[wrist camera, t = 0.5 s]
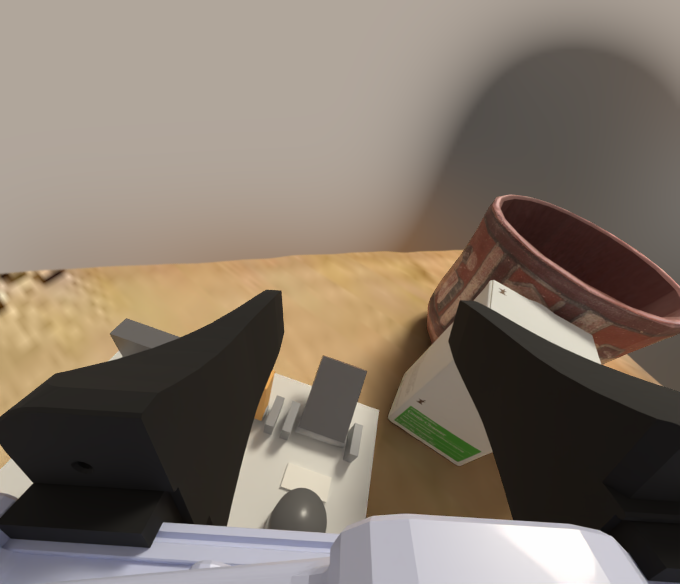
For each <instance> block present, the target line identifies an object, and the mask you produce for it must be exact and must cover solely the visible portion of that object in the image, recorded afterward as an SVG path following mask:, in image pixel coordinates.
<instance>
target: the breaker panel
mask: <svg viewBox="0 0 680 584" xmlns="http://www.w3.org/2000/svg"><path fill="white" fill-rule="evenodd" d="M122 357H123V356H122V355H121V353H120V351H118V352H117V353H116V354H115V355H114V356H113V357H112V358H111V359H110V360H109V361H111V360H115V359H119V358H122ZM311 387H312V386H310V385H307V384H304V383H302V382H299V381H296V380H293V379H290V378H288V377H285V376H282V375H279V374H276V373H275V374H274V379H273V384H272V389H271V394H270V399H269V404H268V405H269V408H268V411H267V413H266V416H265V418H264V420H262V421H260V420H257V419H254V421H253V424H252V428H251V431H250V435H249V439H248V442H247V446H246V450H245V454H244V457H243V461H242V465H241V469H240V473H239V477H238V481H237V485H236V489H235V493H234V498H233V502H232V506H231V511H230V515H229V520H228V524H227V527H242V528H257V529H273V530H288V531H304V532H319V533H335V534H340V533H341V532H342V531H343V530H344V529H345V528H346V526H348V525H350V524H353V523H356V522H358V521H361V520H363V519H366V512H367V504H368V496H369V488H370V480H371V472H372V464H373V456H374V447H375V439H376V431H377V423H378V415H379V410H378V409H375V408H372V407H369V406H366V405H364V404H361V403H358V402H357V405H356V408H355V411H354V414H353V417H352V421H351V424H350V427H349V430H348V433H347V439H346V443H345V446H344V448H343V449H342V448H340V447H337V446H334V445H331V444H328V443H325V442H322V441H320V440H317V439H314V438H311V437H308V436H305V435H303V434H300V433H297V432H295V430H296V427H297V424H298V421H299V418H300V417H301V416H302V413H303V410H304V407H305V404H306V402H307V399H308V396H309V393H310V390H311ZM32 484H33V482H32V481H31V480H30V479H29V478H28V477H27V476H26V474H25V473H24V472H23V471H22V470H21V469H20V468H19V466H18V465H17V464H16V463H15V462H14V461H13V460H12V458H11V459H10V460H9V461H8V462H7V463H6V464H5V465H4V466H3V467H2V468H1V469H0V492H1V493H6V494H9V495H12V496H14V497H17V498H18V499H19V498H20V496H21V495H22V494H23V493H24V492H25V491H26V490H27V489H28V488H29V487H30V486H31V485H32Z"/></svg>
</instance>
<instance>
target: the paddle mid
mask: <svg viewBox="0 0 680 584" xmlns="http://www.w3.org/2000/svg"><path fill="white" fill-rule="evenodd" d="M274 374H275V371H273V370H272V372H271V374H270V377H269V379H268V382H267V384H266V387H265V389H264V391H263V394H262V396H261V399H260V402H259V405H258V407H257V410H256V414H255V417H254V419H257V420H260V421H262V420H264V418H265V416H266V413H267V411H268V408H269V405H268V404H269V399H270V394H271V389H272V384H273V379H274Z"/></svg>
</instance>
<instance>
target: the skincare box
mask: <svg viewBox="0 0 680 584" xmlns="http://www.w3.org/2000/svg"><path fill="white" fill-rule="evenodd" d="M474 301H476V302H479V303H481V304H483V305H485V306H487V307H489V308H490V309H492V310H494V311H496V312H498V313H499V314H501V315H503V316H504V317H506V318H508V319H510V320H511V321H513V322H515V323H517V324H518V325H520V326H522V327H524V328H525V329H527V330H529V331H531V332H533V333H535V334H537V335H538V336H540V337H542V338H544V339H546V340H548V341H550V342H552V343H554V344H556V345H558V346H560V347H562V348H564V349H567V350H569V351H571V352H573V353H575V354H578V355H580V356H582V357H584V358H587V359H589V360H591V361H594V362H596V363H599V364H601V362H600V359H599V356H598V353H597V350H596V346H595V343H594V339H593V336H592V335H591V334H589V333H588V332H586V331H584V330H582V329H580V328H579V327H577V326H575V325H573V324H572V323H570V322H568V321H566V320H565V319H563V318H561V317H559V316H557V315H556V314H554V313H553V312H552V311H551V310H549V309H548V308H546V307H545V306H543V305H542V304H540V303H538V302H536V301H533V300H529V299H527V298H525V297H523V296H522V295H520V294H518V293H516V292H515V291H513V290H511V289H509V288H508V287H506V286H504V285H502V284H500V283H499V282H497V281H495V280H491V281H489V283H488V284H487V286H486V287H485V288H484V289H483V291H482V292H481V293H480V294H479V295H478V296H477V297H476V298H475V300H474ZM452 326H453V323H452V324H451V325H450V326H449V327H448V328H447V329H446V330H445V331H444V332H443V333H442V334H441V335H440V337H439V338H438V339H437V340H436V341H435V342H434V343H433V344H432V345H431V346H430V347H429V348H428V349H427V350H426V351H425V352H424V354H423V355H422V356H421V357H420V358H419V359H418V360H417V361H416V362H415V363H414V364H413V365H412V366H411V367H410V368H409V369H408V370H407V371H406V372H405V374H404V376H403V378H402V381H401V383H400V386H399V388H398V391H397V394H396V396H395V399H394V402H393V404H392V407H391V410H390V412H389V415H388V419H389V420H390V421H391V422H392V423H394V424H395V425H397V426H399V427H400V428H402V429H403V430H405V431H406V432H407V433H409V434H410V435H412V436H413V437H415V438H416V439H418V440H420V441H421V442H423V443H424V444H426V445H427V446H429V447H430V448H432V449H433V450H435V451H436V452H438V453H439V454H441V455H442V456H444V457H445V458H447V459H448V460H449V461H451V462H452V463H454V464H455V465H457V466H461V465H464V464H466V463H468V462H470V461H473V460H475V459H477V458H480V457H482V456H484V455H487V454H489V453H492V452H493V451H492V448H491V445H490V442H489V440H488V437H487V434H486V431H485V428H484V425H483V423H482V420H481V418H480V416H479V413H478V411H477V409H476V407H475V405H474V403H473V401H472V398H471V396H470V394H469V392H468V390H467V388H466V386H465V384H464V382H463V380H462V378H461V375H460V373H459V371H458V369H457V367H456V365H455V362H454V359H453V356H452V353H451V349H450V346H449V342H448V340H449V336H450V333H451V329H452Z"/></svg>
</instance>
